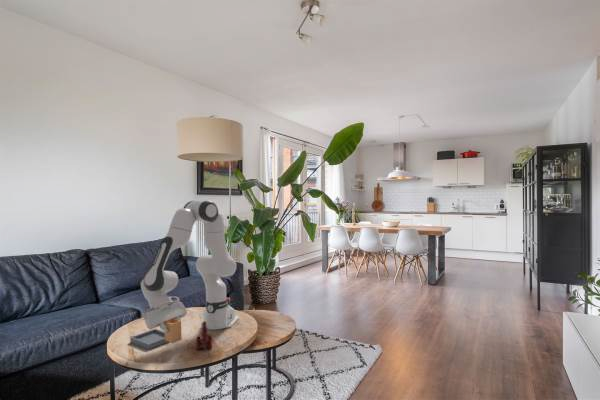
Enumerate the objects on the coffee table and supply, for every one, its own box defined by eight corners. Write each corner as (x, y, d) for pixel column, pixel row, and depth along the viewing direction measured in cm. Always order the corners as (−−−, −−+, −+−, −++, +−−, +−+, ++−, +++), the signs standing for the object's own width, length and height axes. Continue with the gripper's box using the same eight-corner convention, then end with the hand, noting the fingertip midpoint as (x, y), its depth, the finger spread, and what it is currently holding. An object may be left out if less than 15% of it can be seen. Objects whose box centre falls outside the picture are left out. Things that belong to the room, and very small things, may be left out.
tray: (130, 342, 172) (130, 337, 172) (155, 333, 183) (155, 328, 183) (148, 349, 163) (148, 344, 163) (173, 340, 175) (173, 335, 175)
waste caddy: (164, 340, 165) (164, 321, 164) (173, 336, 169) (173, 318, 168) (172, 343, 161) (171, 324, 161) (181, 339, 165) (181, 320, 165)
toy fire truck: (196, 353, 160) (196, 330, 160) (196, 342, 172) (196, 321, 172) (212, 351, 162) (211, 328, 162) (211, 340, 174) (211, 320, 174)
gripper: (143, 307, 160) (156, 333, 155) (180, 296, 177) (193, 318, 171) (138, 315, 162) (150, 341, 157) (175, 303, 179) (188, 326, 174)
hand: (173, 329), depth 164 cm, fingers closed on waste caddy, 5 cm apart
